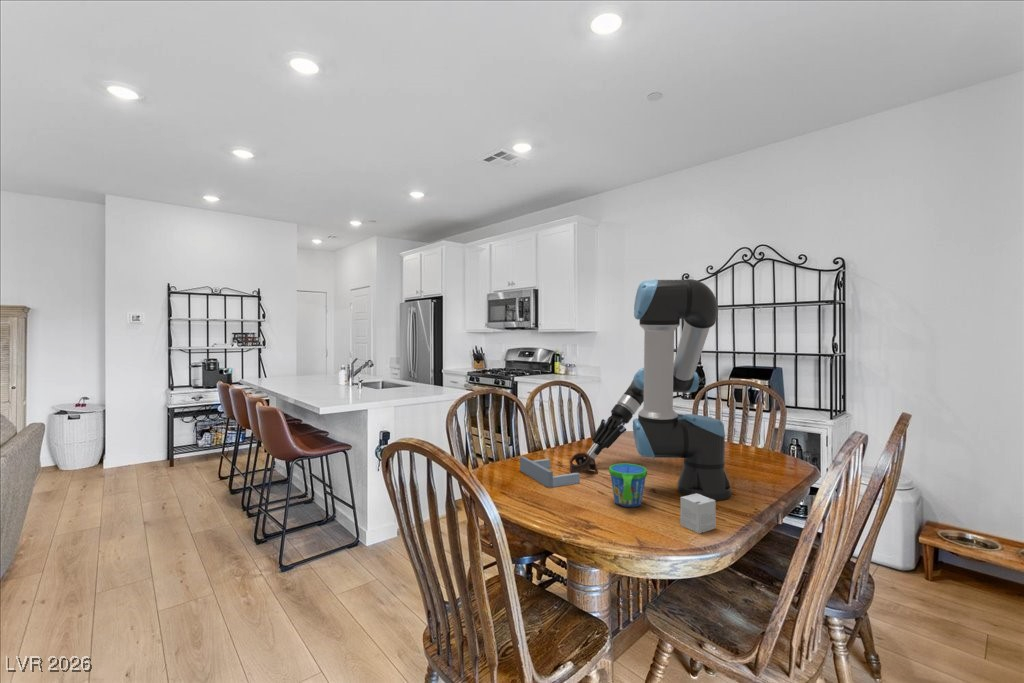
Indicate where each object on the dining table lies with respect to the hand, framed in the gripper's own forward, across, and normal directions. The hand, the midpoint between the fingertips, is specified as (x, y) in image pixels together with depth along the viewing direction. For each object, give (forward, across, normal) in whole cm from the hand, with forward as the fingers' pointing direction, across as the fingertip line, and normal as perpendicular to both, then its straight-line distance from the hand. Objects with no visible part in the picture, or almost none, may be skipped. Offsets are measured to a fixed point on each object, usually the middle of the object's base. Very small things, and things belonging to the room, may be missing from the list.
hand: (587, 460), depth 172 cm
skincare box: (+4, -56, 0) cm, 56 cm away
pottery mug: (+5, -4, +1) cm, 6 cm away
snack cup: (+8, -35, +4) cm, 36 cm away
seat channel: (+14, -3, +10) cm, 18 cm away
